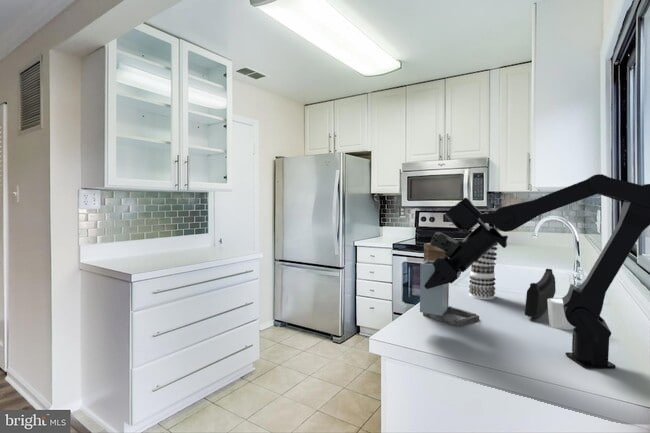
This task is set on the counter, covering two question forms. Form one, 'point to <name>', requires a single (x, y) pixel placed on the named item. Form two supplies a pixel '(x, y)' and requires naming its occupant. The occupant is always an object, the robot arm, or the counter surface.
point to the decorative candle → (483, 275)
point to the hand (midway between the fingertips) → (428, 285)
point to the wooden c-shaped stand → (431, 255)
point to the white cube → (557, 314)
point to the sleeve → (431, 292)
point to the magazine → (540, 295)
